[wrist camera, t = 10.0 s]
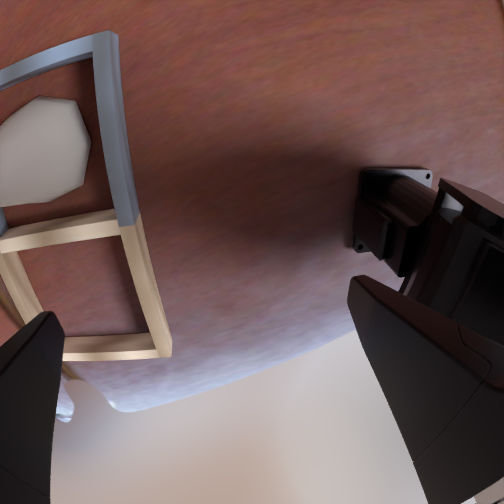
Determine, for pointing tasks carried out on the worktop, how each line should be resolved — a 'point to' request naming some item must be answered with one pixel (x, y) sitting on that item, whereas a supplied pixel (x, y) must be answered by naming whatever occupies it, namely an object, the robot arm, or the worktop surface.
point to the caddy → (95, 223)
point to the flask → (42, 151)
